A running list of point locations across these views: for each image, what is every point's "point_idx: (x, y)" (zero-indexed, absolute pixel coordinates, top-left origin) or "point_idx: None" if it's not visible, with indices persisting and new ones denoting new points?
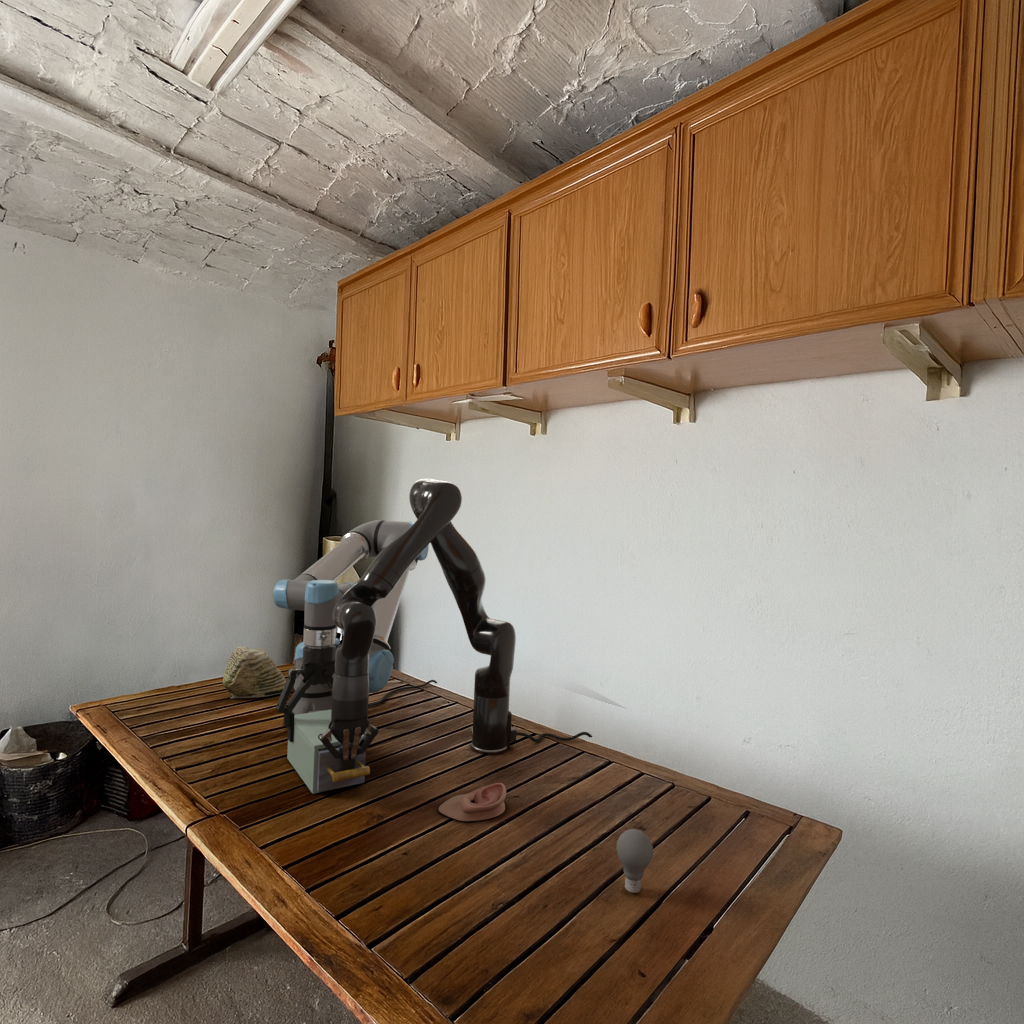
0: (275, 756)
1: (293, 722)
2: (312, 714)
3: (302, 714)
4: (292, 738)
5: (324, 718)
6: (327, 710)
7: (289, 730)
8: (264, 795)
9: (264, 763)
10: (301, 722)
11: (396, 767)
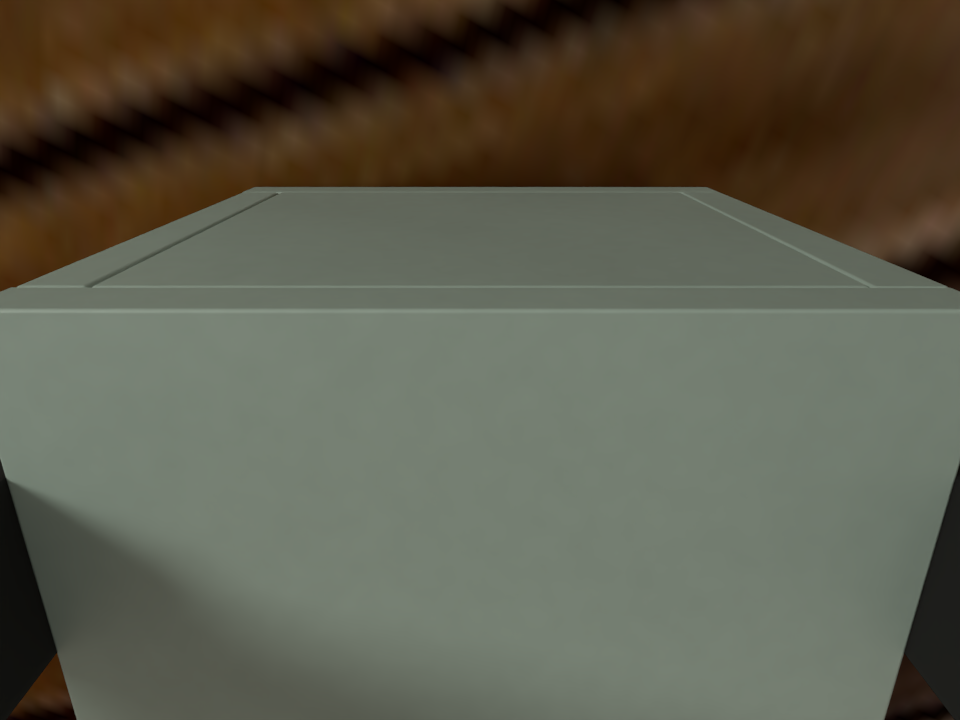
0: (153, 71)
1: (46, 649)
2: (436, 444)
3: (245, 361)
4: None
5: (567, 696)
6: (804, 343)
7: None
8: (52, 686)
9: (47, 196)
10: (171, 712)
11: (930, 688)
